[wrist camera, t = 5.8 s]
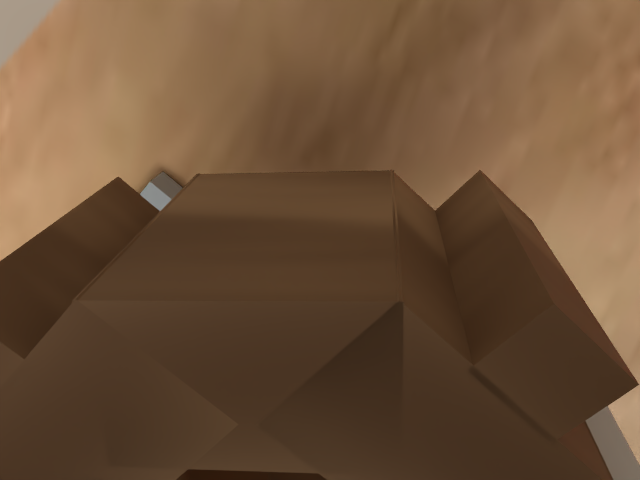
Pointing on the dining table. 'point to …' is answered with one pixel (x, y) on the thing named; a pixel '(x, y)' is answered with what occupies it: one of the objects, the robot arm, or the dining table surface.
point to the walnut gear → (299, 338)
